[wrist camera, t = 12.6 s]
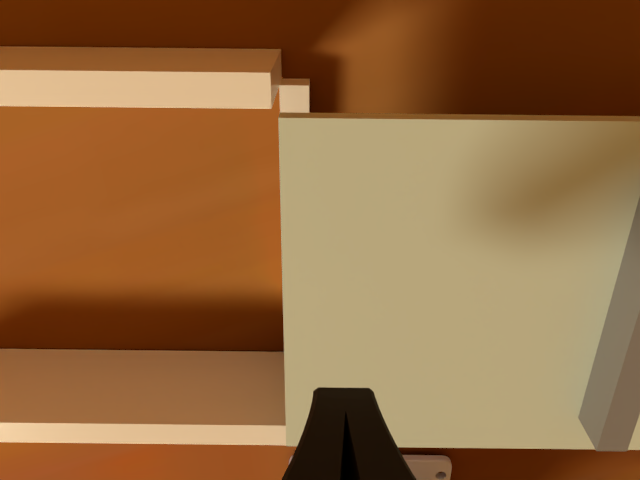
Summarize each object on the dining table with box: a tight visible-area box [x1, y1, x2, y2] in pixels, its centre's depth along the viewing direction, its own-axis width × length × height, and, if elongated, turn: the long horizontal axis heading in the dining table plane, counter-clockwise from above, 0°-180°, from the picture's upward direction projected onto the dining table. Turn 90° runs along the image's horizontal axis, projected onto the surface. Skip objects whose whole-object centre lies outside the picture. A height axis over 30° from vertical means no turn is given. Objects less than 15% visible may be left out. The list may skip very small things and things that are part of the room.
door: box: [278, 112, 640, 451], centre depth 18 cm, size 12×16×2 cm
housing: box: [0, 46, 310, 445], centre depth 21 cm, size 14×32×4 cm, turn 90°
